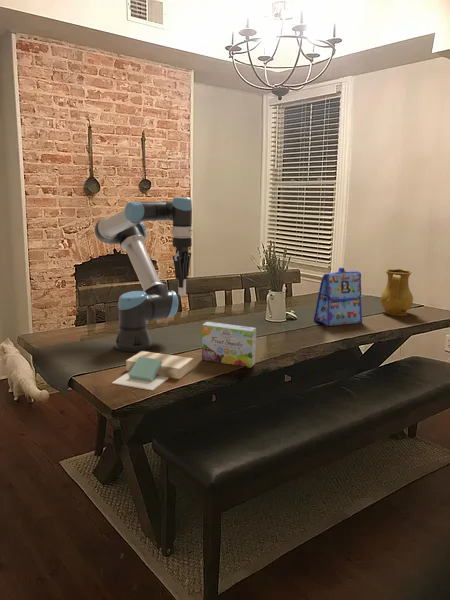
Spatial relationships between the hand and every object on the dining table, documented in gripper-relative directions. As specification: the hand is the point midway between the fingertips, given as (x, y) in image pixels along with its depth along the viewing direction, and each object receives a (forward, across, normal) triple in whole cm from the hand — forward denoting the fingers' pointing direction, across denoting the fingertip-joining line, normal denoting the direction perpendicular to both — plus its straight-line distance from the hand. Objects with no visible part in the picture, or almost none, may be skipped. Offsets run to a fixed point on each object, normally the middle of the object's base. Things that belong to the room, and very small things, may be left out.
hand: (182, 294), depth 206 cm
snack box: (+25, -4, -22) cm, 33 cm away
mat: (+24, -35, 0) cm, 43 cm away
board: (+24, -22, -1) cm, 33 cm away
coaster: (+22, -31, 0) cm, 38 cm away
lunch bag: (+25, +76, -54) cm, 96 cm away
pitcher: (+25, +107, -81) cm, 136 cm away
